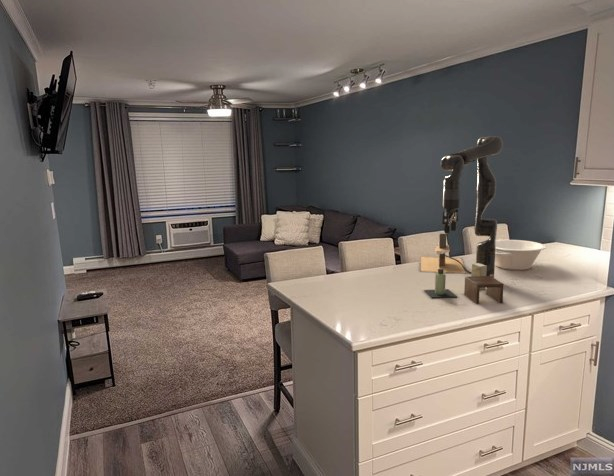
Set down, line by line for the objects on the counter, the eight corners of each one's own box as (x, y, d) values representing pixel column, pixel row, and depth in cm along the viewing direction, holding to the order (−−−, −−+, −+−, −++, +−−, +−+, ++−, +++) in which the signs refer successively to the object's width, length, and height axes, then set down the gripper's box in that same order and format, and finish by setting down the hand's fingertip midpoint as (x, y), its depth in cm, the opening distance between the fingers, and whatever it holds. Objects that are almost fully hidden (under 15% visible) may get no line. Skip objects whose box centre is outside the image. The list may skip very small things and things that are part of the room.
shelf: (464, 294, 206) (464, 276, 205) (488, 293, 207) (489, 275, 205) (476, 304, 192) (477, 284, 191) (502, 303, 193) (503, 283, 191)
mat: (424, 290, 214) (424, 290, 214) (448, 290, 214) (448, 289, 214) (431, 298, 202) (431, 297, 202) (457, 297, 202) (457, 296, 202)
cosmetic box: (470, 286, 218) (471, 263, 216) (477, 285, 220) (478, 262, 218) (479, 290, 213) (480, 266, 211) (486, 289, 214) (487, 265, 212)
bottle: (433, 291, 210) (434, 268, 208) (443, 291, 210) (443, 267, 208) (436, 294, 205) (437, 270, 203) (446, 294, 206) (447, 270, 204)
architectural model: (466, 273, 245) (467, 239, 242) (420, 271, 252) (421, 238, 248) (461, 258, 281) (462, 228, 278) (421, 257, 288) (422, 228, 285)
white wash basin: (502, 256, 283) (503, 236, 281) (557, 265, 257) (559, 243, 255) (467, 268, 256) (468, 246, 253) (525, 278, 230) (526, 254, 228)
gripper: (453, 199, 195) (452, 234, 198) (464, 197, 206) (463, 230, 209) (437, 199, 200) (436, 233, 203) (448, 196, 211) (447, 229, 214)
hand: (450, 231), depth 206 cm, fingers open, 8 cm apart
